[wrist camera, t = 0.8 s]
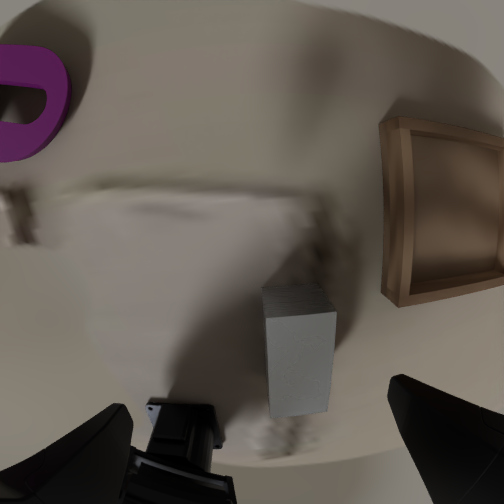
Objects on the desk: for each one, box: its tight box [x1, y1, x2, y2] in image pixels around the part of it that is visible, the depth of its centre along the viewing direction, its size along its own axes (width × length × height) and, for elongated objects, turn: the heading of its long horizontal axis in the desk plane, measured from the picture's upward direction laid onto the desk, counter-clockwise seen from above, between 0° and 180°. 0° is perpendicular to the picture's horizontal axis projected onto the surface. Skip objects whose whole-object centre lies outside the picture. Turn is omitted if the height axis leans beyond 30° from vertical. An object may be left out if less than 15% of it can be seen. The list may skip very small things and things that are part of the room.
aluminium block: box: [261, 283, 337, 418], centre depth 19 cm, size 8×4×5 cm, turn 4°
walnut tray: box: [379, 116, 504, 308], centre depth 17 cm, size 13×14×3 cm
